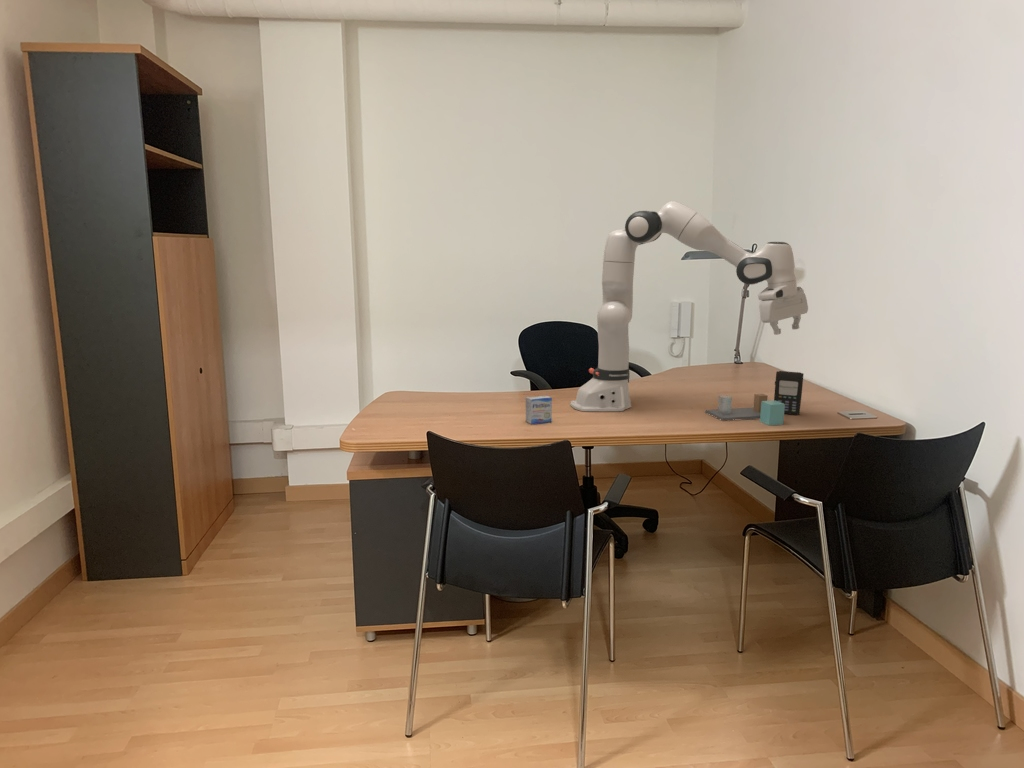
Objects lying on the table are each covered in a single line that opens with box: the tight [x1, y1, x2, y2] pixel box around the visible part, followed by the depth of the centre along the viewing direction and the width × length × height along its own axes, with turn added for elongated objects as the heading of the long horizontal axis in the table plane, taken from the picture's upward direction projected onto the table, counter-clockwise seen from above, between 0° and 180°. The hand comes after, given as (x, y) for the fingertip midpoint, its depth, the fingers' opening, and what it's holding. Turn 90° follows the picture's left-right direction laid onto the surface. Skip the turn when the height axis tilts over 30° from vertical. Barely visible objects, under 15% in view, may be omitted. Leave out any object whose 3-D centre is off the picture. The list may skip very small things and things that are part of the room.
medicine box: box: [525, 395, 553, 425], centre depth 243 cm, size 8×4×9 cm, turn 113°
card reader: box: [773, 370, 805, 416], centre depth 256 cm, size 9×4×15 cm, turn 66°
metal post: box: [717, 395, 733, 415], centre depth 252 cm, size 3×3×6 cm
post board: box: [704, 393, 768, 421], centre depth 254 cm, size 22×12×7 cm, turn 103°
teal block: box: [759, 400, 785, 426], centre depth 244 cm, size 5×5×7 cm
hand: (786, 331), depth 240 cm, fingers open, 8 cm apart
